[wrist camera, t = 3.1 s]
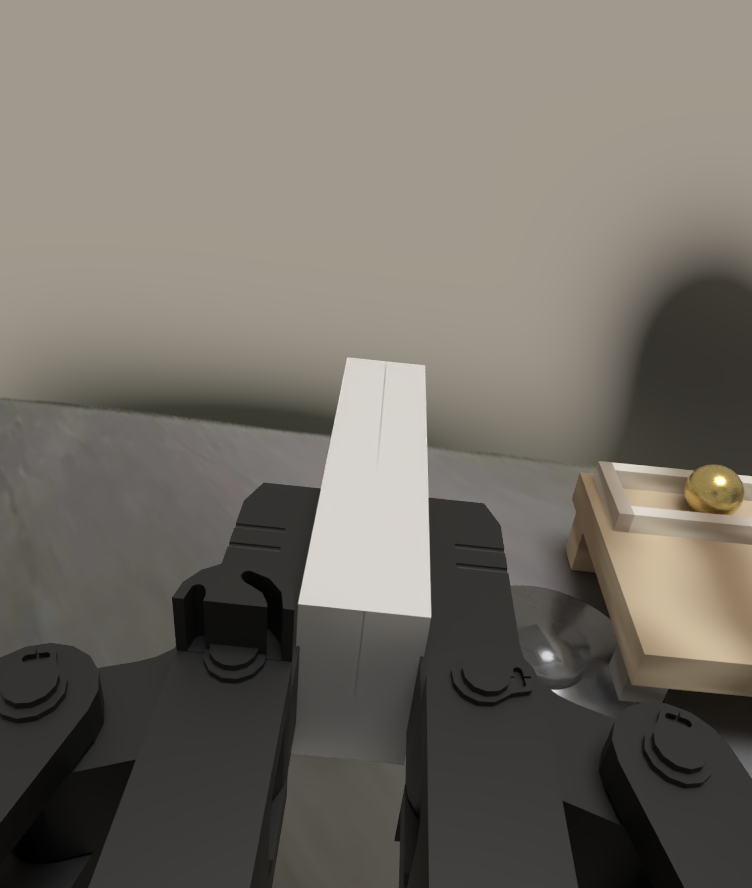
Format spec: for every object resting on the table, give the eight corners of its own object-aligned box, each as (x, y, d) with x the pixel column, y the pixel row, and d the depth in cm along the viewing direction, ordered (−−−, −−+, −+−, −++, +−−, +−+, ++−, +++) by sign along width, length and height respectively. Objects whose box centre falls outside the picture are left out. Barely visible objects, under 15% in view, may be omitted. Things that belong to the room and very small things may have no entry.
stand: (757, 568, 45) (803, 475, 41) (878, 766, 33) (959, 663, 29) (557, 548, 45) (585, 453, 41) (608, 740, 33) (653, 633, 29)
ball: (721, 500, 41) (739, 457, 39) (741, 532, 38) (762, 488, 37) (670, 495, 41) (686, 451, 39) (687, 527, 38) (705, 482, 37)
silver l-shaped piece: (571, 595, 41) (644, 370, 33) (681, 743, 33) (809, 493, 25) (295, 643, 36) (305, 393, 28) (345, 830, 28) (377, 554, 21)
